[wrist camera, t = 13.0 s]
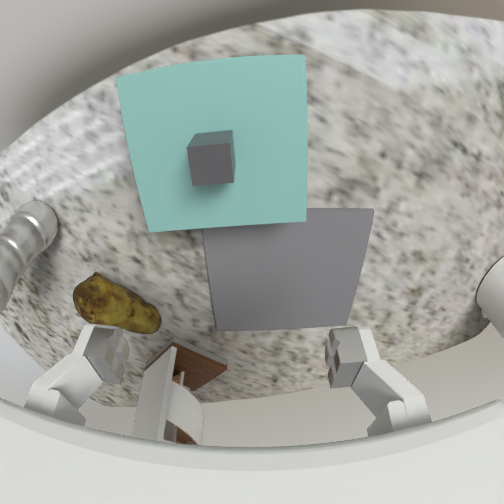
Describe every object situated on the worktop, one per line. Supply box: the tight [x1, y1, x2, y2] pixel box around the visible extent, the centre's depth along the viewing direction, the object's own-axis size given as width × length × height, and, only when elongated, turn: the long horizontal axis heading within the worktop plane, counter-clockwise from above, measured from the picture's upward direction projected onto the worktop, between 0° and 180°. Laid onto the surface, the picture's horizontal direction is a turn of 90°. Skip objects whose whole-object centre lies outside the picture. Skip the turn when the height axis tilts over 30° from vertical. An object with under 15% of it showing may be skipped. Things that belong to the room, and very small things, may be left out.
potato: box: [73, 272, 161, 334], centre depth 38 cm, size 8×13×8 cm, turn 20°
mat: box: [202, 208, 374, 331], centre depth 39 cm, size 20×20×1 cm
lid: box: [116, 55, 307, 233], centre depth 22 cm, size 15×15×5 cm
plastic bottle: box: [0, 201, 58, 313], centre depth 25 cm, size 6×7×20 cm
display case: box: [131, 336, 227, 445], centre depth 37 cm, size 11×11×35 cm
